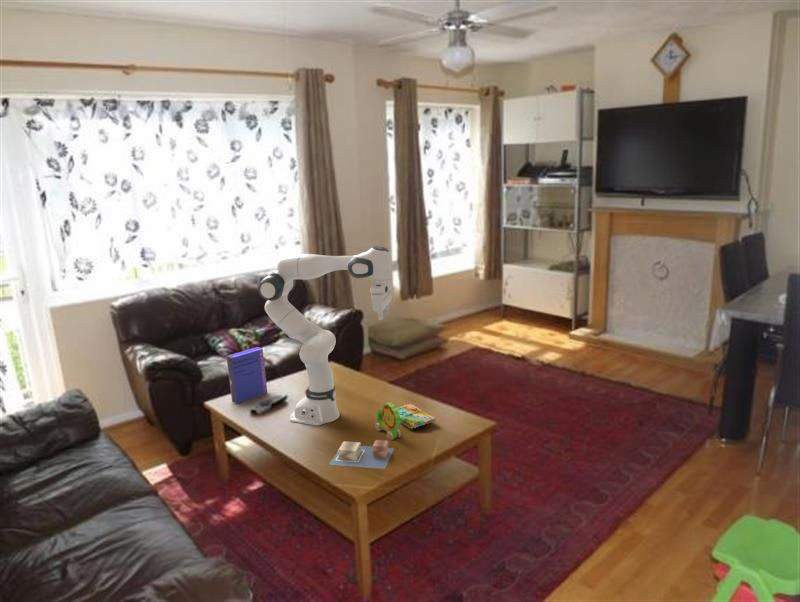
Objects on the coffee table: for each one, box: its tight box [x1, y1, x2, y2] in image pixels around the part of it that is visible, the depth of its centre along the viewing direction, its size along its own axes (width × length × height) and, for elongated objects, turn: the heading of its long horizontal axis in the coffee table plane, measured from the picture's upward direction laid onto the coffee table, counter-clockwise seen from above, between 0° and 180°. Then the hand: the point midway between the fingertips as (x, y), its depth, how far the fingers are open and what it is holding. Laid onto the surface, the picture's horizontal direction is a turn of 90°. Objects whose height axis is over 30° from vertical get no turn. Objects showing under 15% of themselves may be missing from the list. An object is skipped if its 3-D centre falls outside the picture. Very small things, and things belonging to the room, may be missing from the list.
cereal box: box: [226, 346, 268, 404], centre depth 285 cm, size 17×5×24 cm, turn 136°
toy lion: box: [374, 402, 402, 441], centre depth 239 cm, size 16×5×15 cm, turn 33°
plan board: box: [328, 445, 395, 470], centre depth 223 cm, size 22×16×1 cm
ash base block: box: [337, 441, 362, 460], centre depth 224 cm, size 7×7×4 cm
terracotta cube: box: [372, 439, 390, 458], centre depth 223 cm, size 5×5×5 cm
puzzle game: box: [396, 403, 437, 430], centre depth 252 cm, size 12×5×20 cm
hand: (383, 316), depth 244 cm, fingers open, 8 cm apart
